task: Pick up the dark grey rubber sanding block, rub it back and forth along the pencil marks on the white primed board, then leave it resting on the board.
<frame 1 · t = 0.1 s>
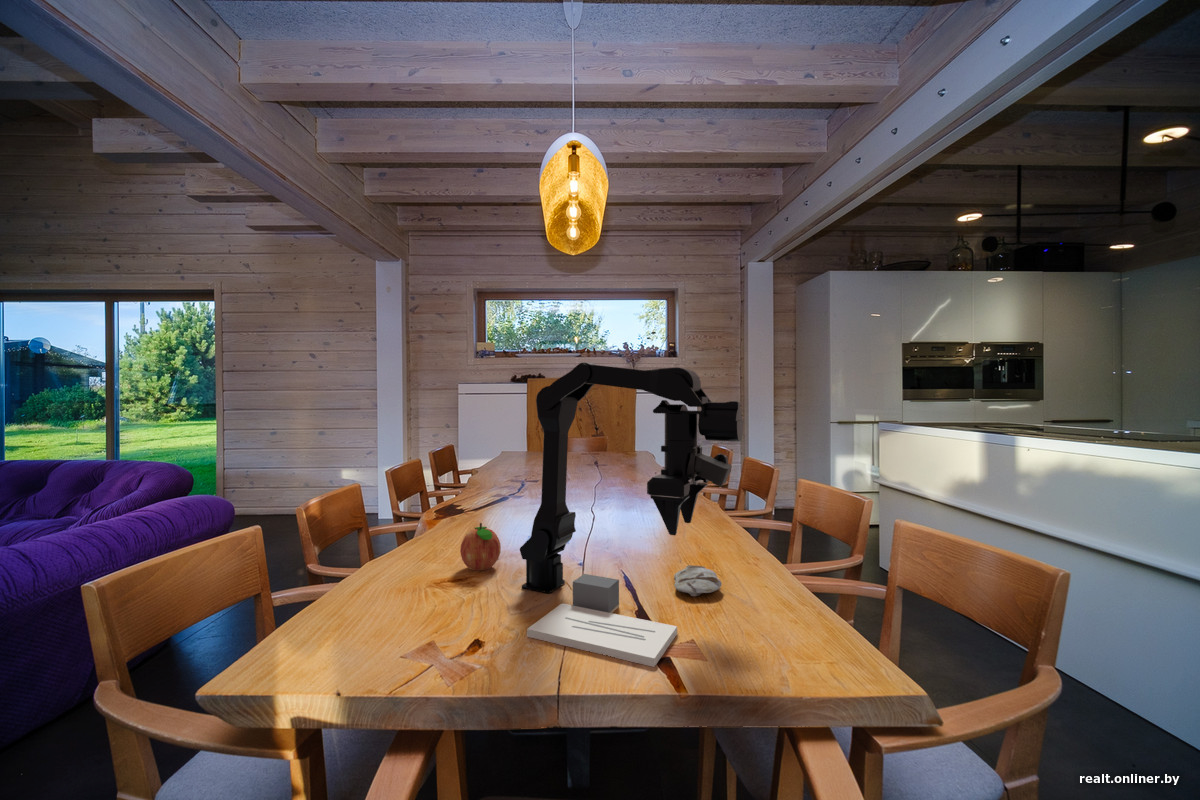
hand: (680, 528, 89), 15 cm above the table, fingers open, 9 cm apart
fruit: (480, 569, 111), on the table
sanding block: (596, 608, 90), on the table
stone: (697, 590, 100), on the table
board: (602, 635, 80), on the table
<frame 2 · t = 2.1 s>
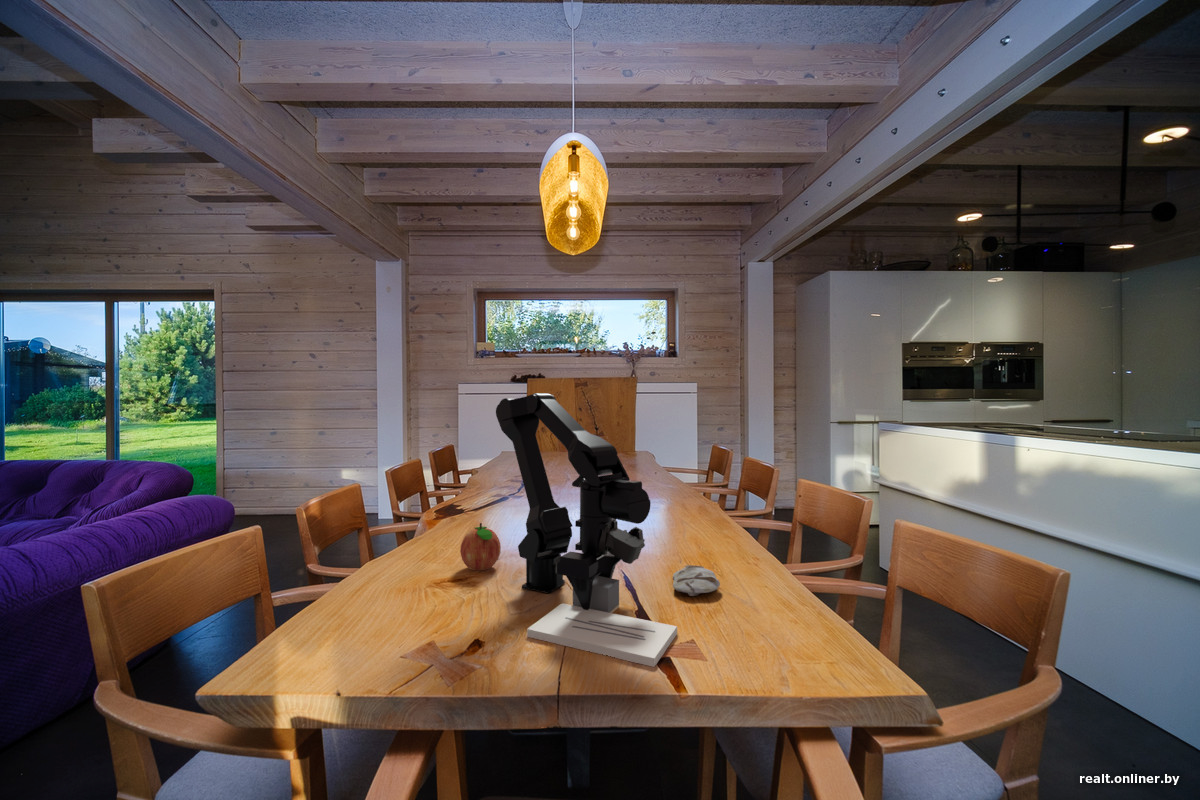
hand: (595, 602, 90), 1 cm above the table, fingers open, 7 cm apart
nothing on the table moved.
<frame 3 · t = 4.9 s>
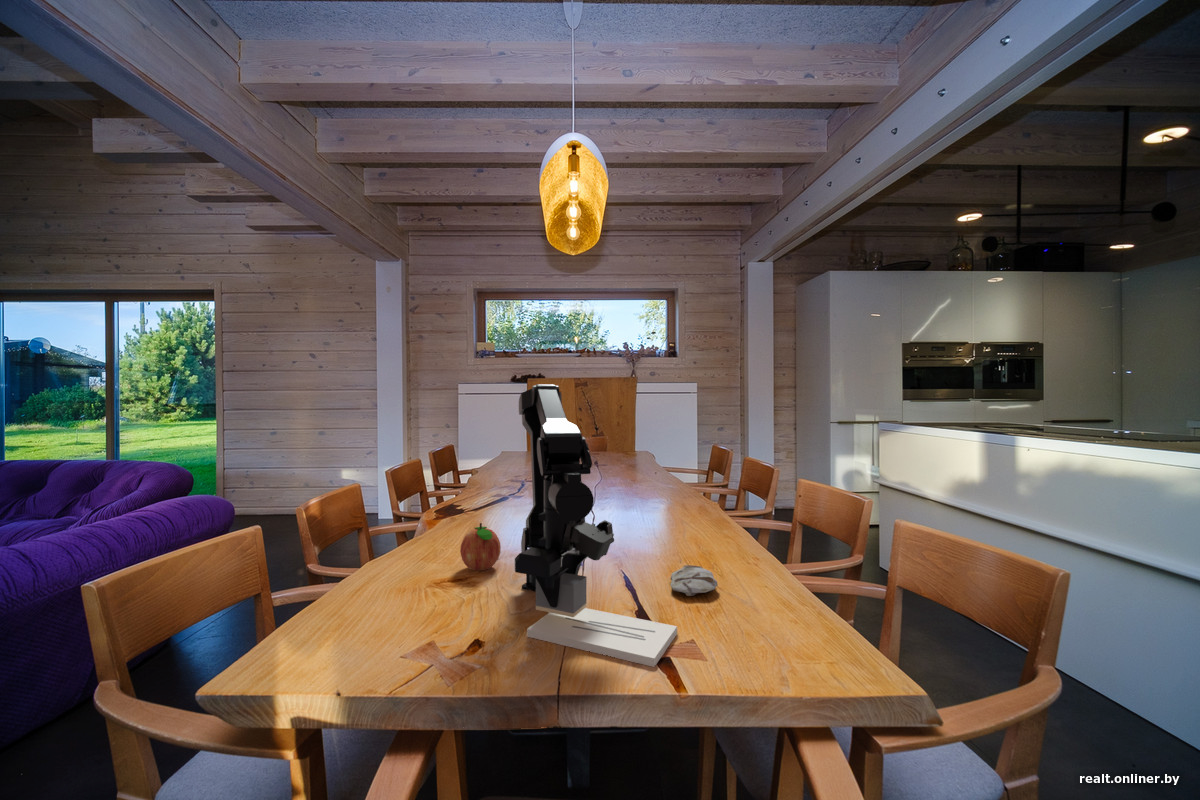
hand: (561, 601, 83), 4 cm above the table, fingers closed on sanding block, 4 cm apart
sanding block: (561, 607, 83), point 3 cm above the table, touching gripper
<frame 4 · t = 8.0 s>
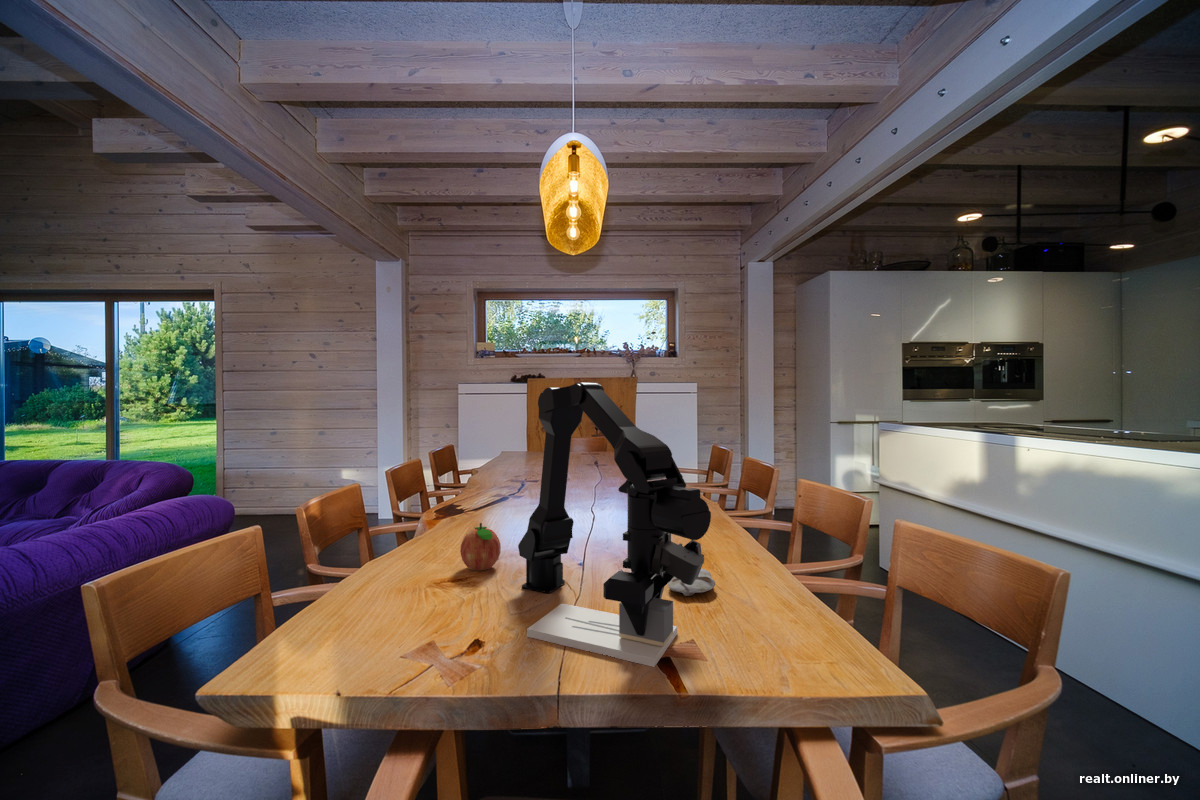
hand: (646, 628, 77), 3 cm above the table, fingers closed on sanding block, 4 cm apart
sanding block: (646, 635, 77), point 1 cm above the table, touching gripper
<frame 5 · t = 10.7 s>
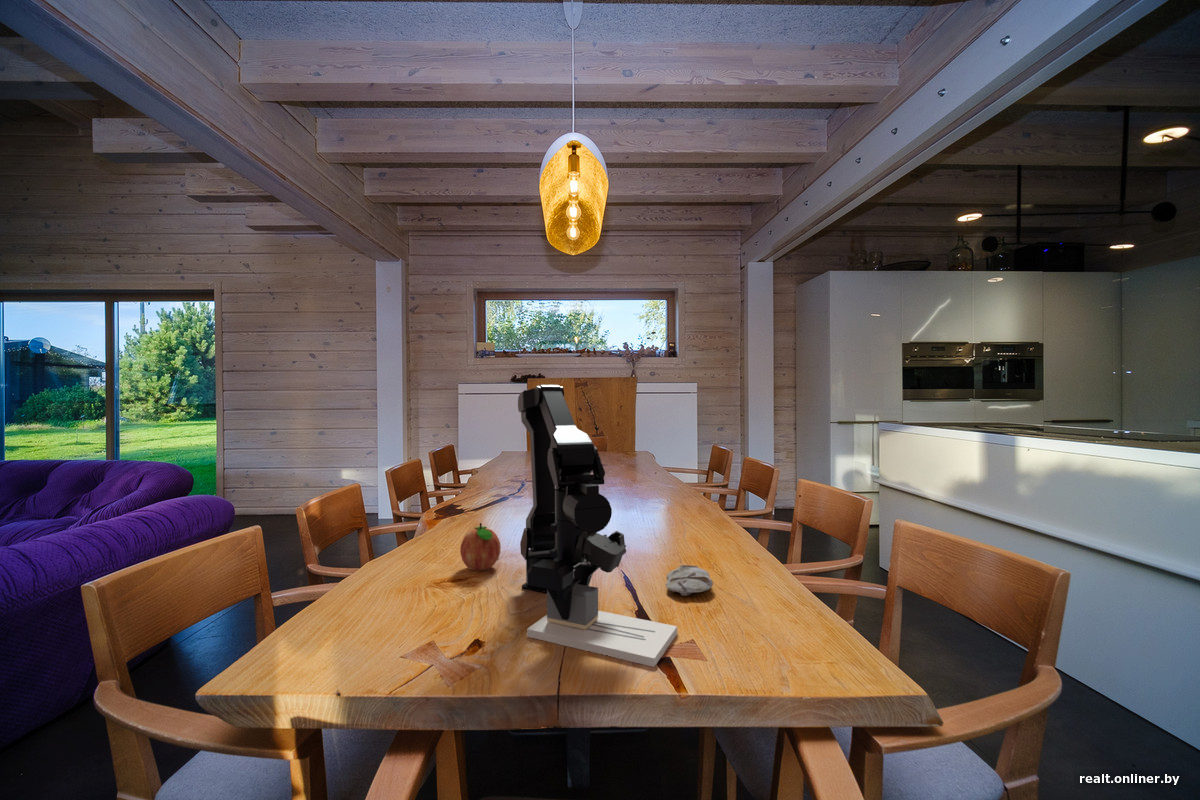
hand: (572, 613, 82), 2 cm above the table, fingers closed on sanding block, 4 cm apart
sanding block: (572, 619, 82), point 1 cm above the table, touching gripper
when the fingers open (2 cm above the table, at t = 13.4 s): sanding block stays where it is, resting on board.
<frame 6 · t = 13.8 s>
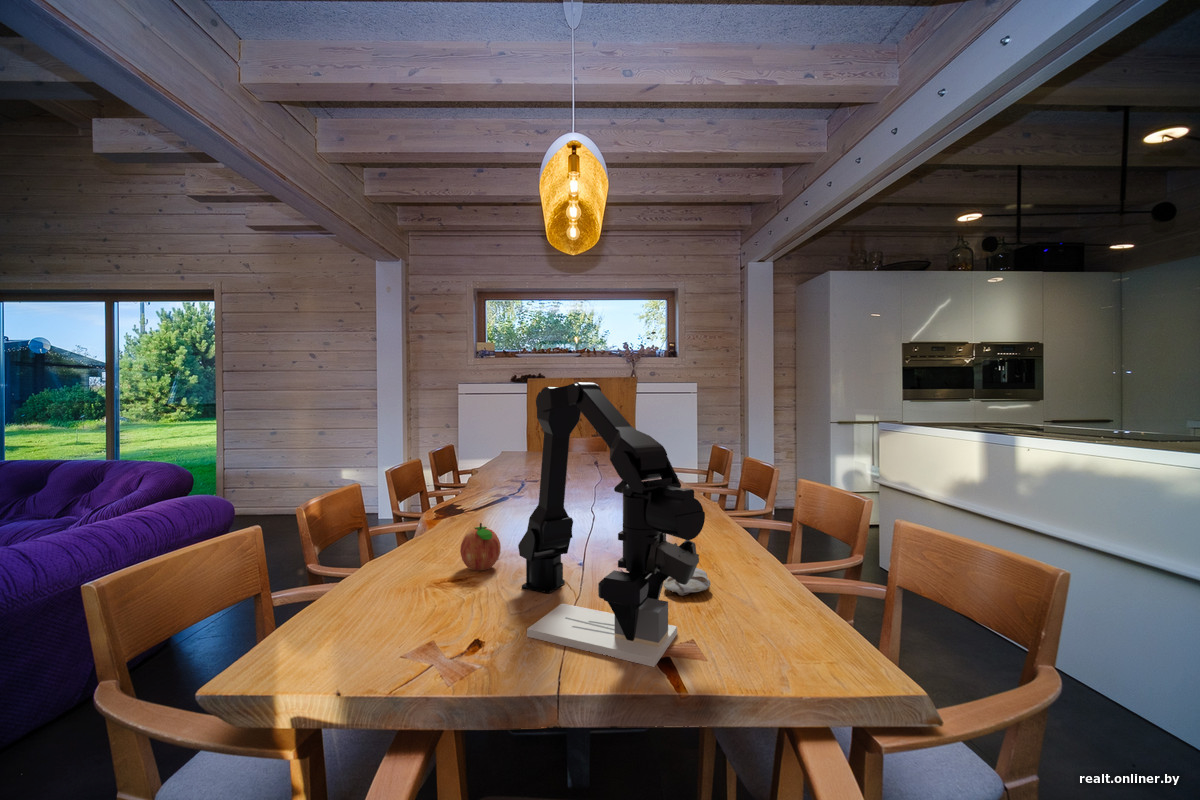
hand: (641, 627, 77), 2 cm above the table, fingers open, 9 cm apart
sanding block: (641, 635, 77), point 1 cm above the table, touching board
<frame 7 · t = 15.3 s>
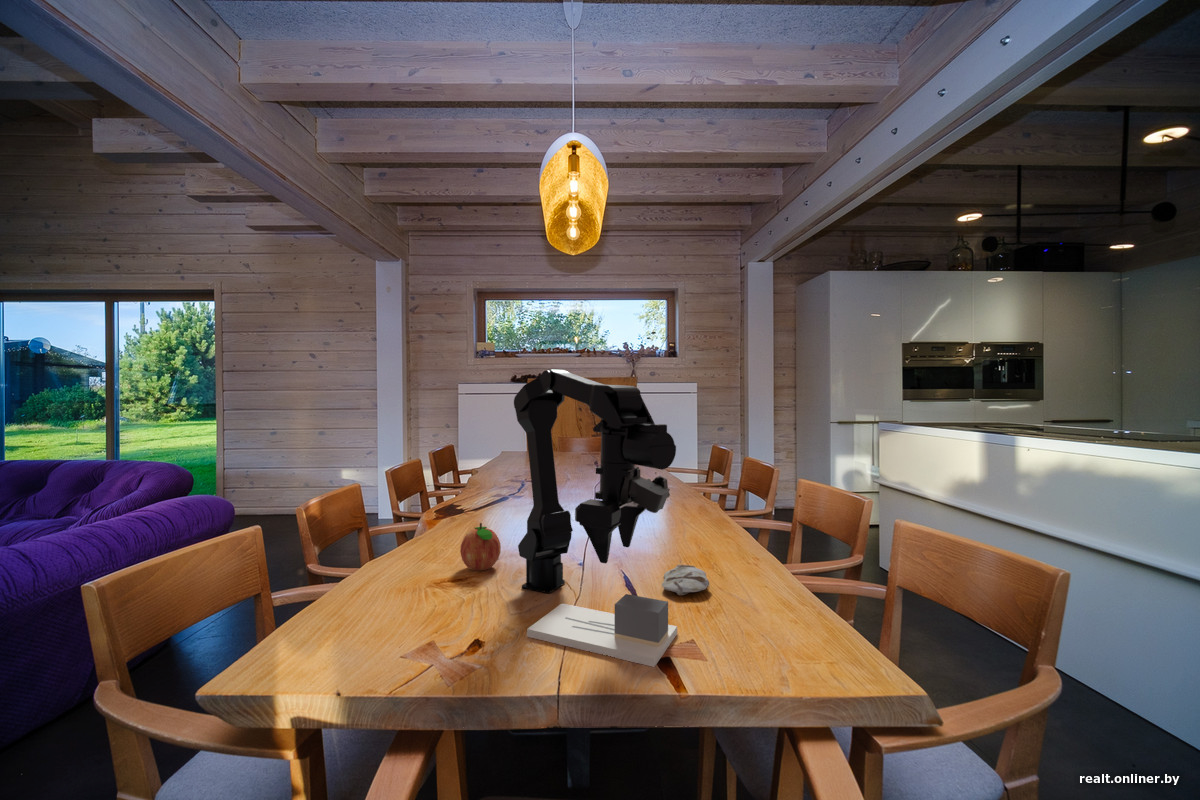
hand: (615, 554, 84), 11 cm above the table, fingers open, 9 cm apart
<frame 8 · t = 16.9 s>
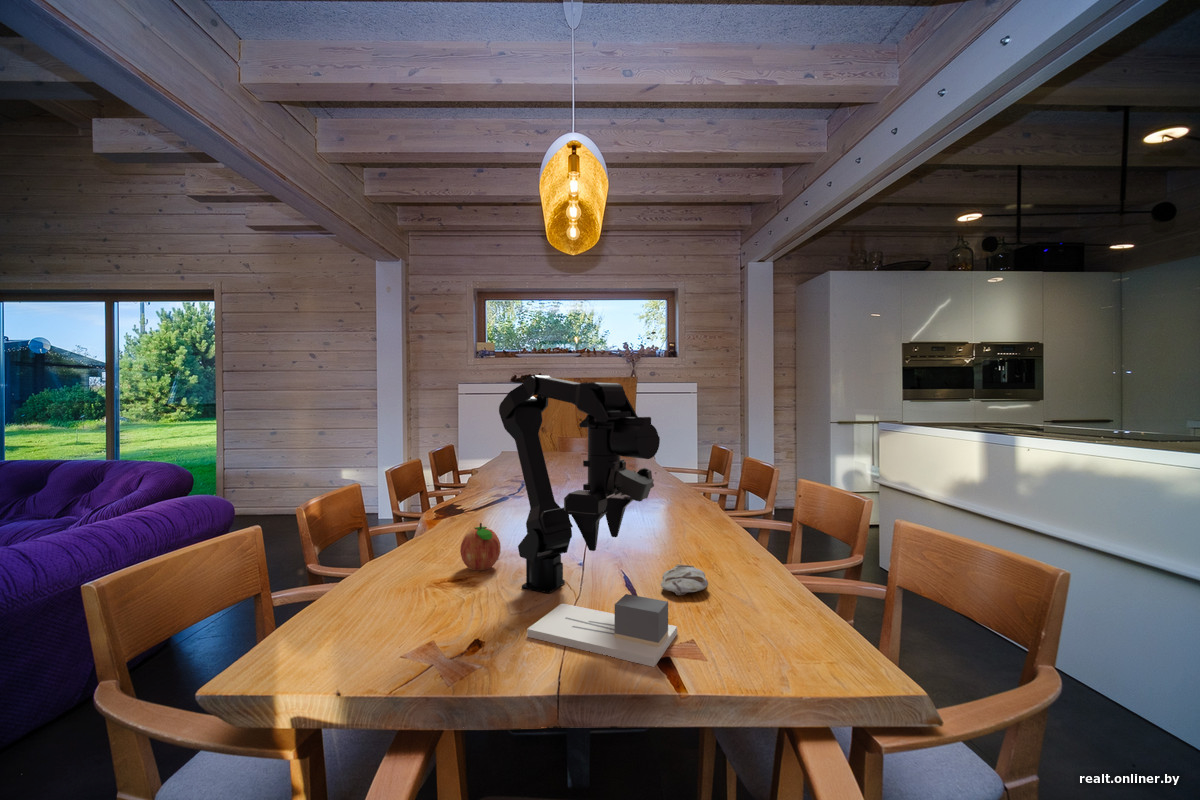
hand: (603, 543, 89), 12 cm above the table, fingers open, 9 cm apart
at the end: sanding block inside the target area on the board (6.5 cm from its centre), point 1.2 cm above the board's base; sanding block touching board; the gripper is holding nothing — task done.
